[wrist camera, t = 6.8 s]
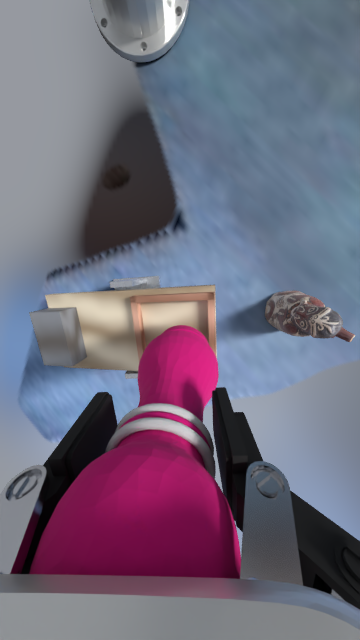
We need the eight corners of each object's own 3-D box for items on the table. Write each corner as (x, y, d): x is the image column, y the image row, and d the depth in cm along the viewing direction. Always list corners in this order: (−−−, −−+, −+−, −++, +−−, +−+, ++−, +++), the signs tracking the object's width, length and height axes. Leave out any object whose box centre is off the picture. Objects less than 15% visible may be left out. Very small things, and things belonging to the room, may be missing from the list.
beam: (53, 293, 29) (25, 298, 25) (214, 284, 23) (213, 288, 19) (70, 362, 32) (47, 377, 28) (217, 369, 26) (216, 388, 22)
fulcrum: (115, 279, 33) (91, 281, 24) (159, 275, 32) (150, 277, 24) (127, 356, 36) (110, 380, 28) (167, 354, 36) (161, 378, 28)
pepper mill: (193, 389, 22) (167, 1193, 3) (141, 360, 22) (-302, 1017, 2) (226, 340, 20) (821, 1639, 1) (169, 308, 20) (-598, 1192, 1)
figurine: (284, 281, 32) (341, 286, 20) (314, 305, 32) (384, 324, 21) (256, 313, 33) (293, 335, 22) (284, 335, 34) (335, 368, 23)
